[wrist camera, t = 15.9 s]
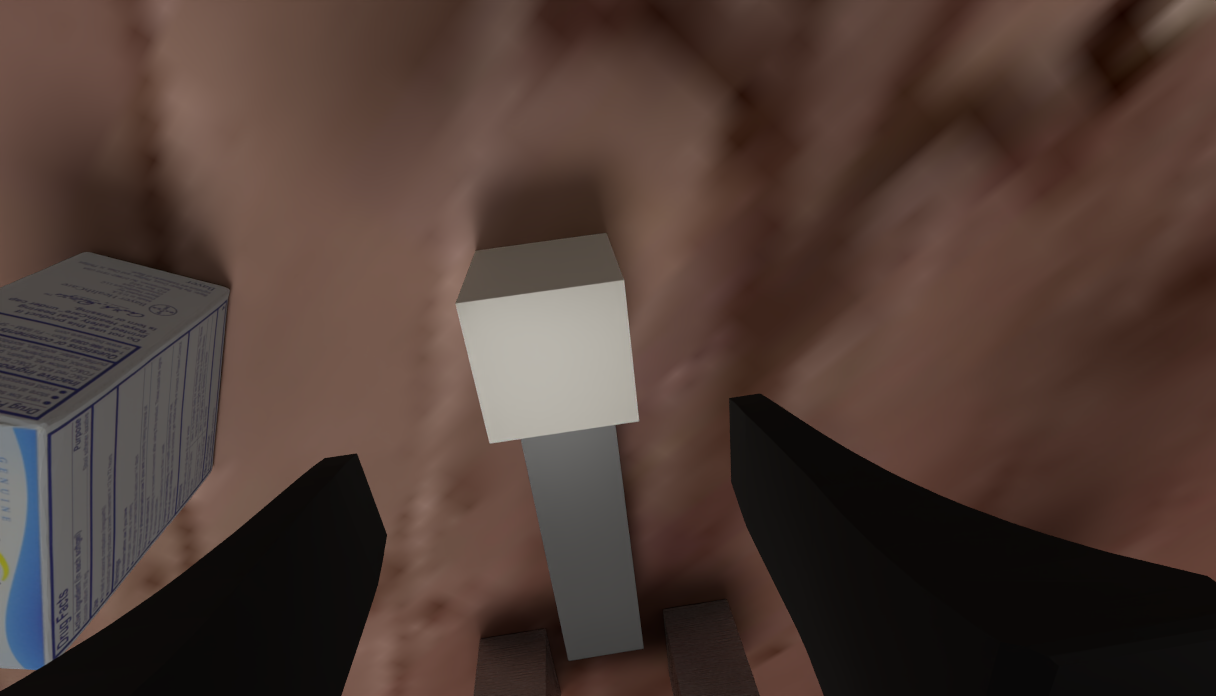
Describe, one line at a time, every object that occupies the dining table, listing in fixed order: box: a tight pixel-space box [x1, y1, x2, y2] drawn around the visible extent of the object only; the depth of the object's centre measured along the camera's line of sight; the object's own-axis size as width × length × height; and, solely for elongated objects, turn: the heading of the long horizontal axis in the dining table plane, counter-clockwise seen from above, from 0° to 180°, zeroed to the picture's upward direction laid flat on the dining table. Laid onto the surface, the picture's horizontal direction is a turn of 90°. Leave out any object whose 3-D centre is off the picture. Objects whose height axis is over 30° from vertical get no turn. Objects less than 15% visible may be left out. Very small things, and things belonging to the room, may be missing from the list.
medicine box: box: [0, 252, 230, 670], centre depth 17 cm, size 8×4×9 cm, turn 160°
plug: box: [456, 233, 644, 661], centre depth 21 cm, size 4×17×5 cm, turn 6°
